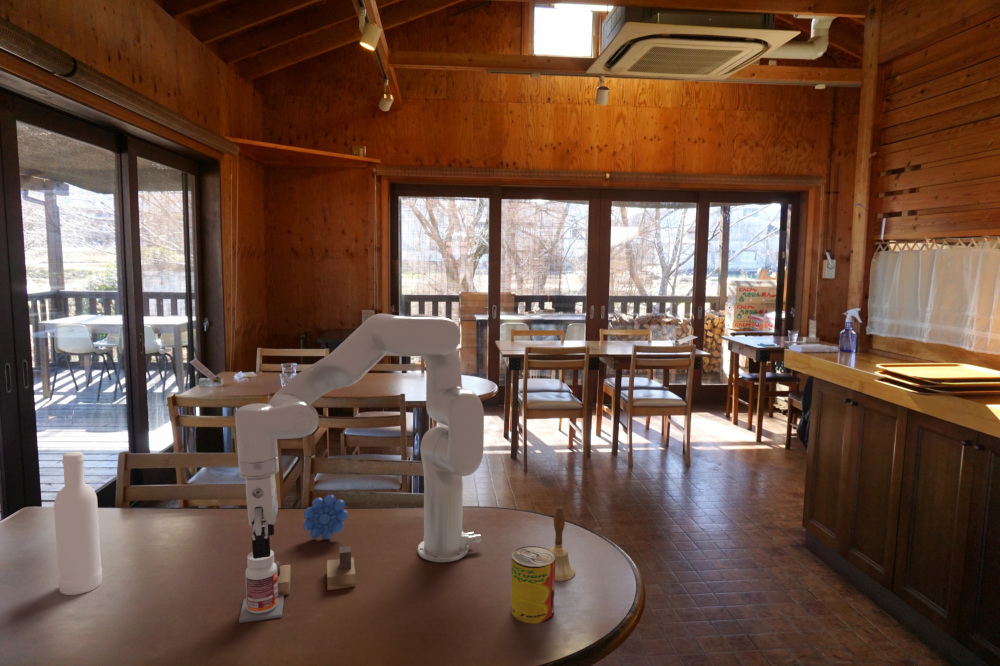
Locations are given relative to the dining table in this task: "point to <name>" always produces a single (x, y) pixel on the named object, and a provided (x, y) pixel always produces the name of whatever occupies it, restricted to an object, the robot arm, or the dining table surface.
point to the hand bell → (561, 550)
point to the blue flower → (325, 517)
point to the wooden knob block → (337, 573)
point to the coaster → (249, 616)
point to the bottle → (77, 530)
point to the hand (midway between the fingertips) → (264, 545)
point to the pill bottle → (261, 584)
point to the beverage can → (532, 584)
